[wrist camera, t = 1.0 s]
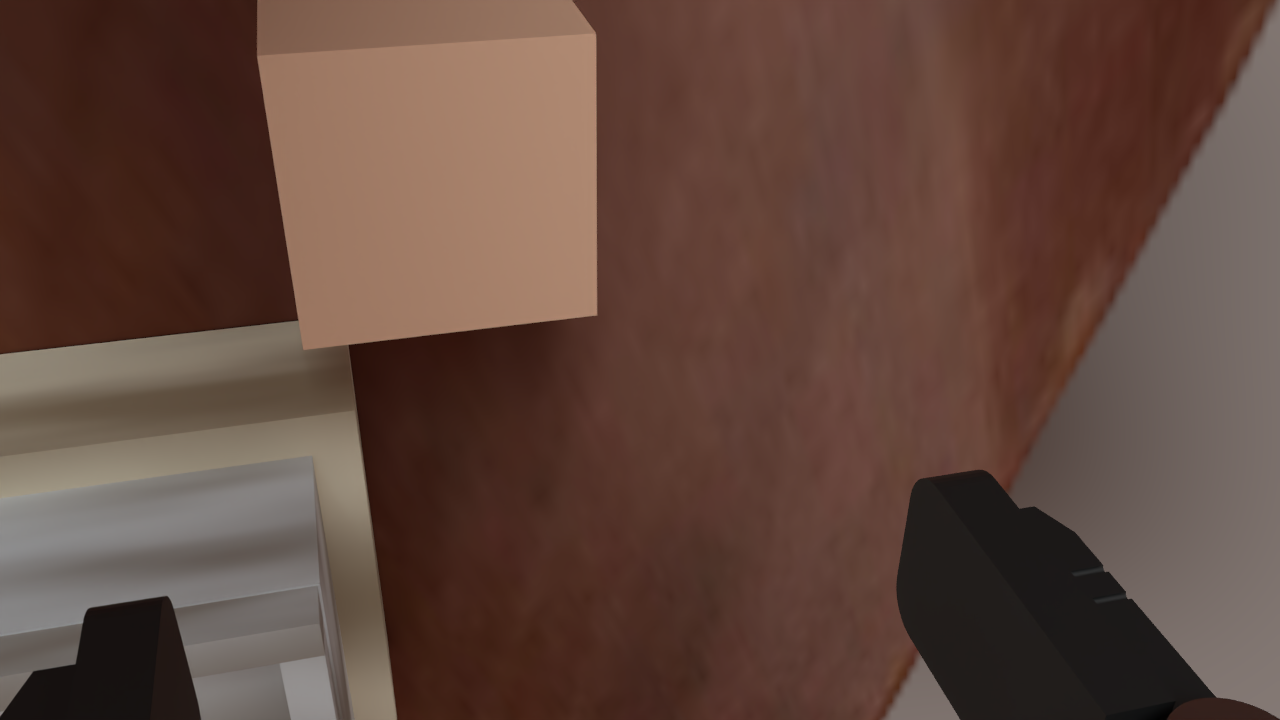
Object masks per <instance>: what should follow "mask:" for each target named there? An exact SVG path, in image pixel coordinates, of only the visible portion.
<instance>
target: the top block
mask: <svg viewBox="0 0 1280 720" xmlns="http://www.w3.org/2000/svg"><path fill="white" fill-rule="evenodd" d="M257 59H258V65H259V72H260V78H261V84H262V91H263V97H264V104H265V110H266V116H267V123H268V129H269V135H270V142H271V148H272V154H273V161H274V167H275V174H276V180H277V186H278V193H279V199H280V205H281V212H282V218H283V225H284V231H285V237H286V244H287V250H288V256H289V263H290V269H291V276H292V282H293V288H294V295H295V301H296V307H297V314H298V320H299V326H300V333H301V339H302V346H303V350H308V349H316V348H325V347H333V346H342V345H350V344H359V343H367V342H376V341H384V340H392V339H401V338H409V337H418V336H426V335H435V334H443V333H452V332H460V331H469V330H477V329H485V328H494V327H502V326H511V325H519V324H528V323H536V322H545V321H553V320H562V319H570V318H578V317H587V316H595V315H597V141H596V33H595V31H594V30H593V28H592V27H591V26H590V24H589V23H588V22H587V20H586V19H585V17H584V16H583V15H582V13H581V12H580V11H579V9H578V8H577V6H576V5H575V4H574V2H573V1H572V0H257Z"/></svg>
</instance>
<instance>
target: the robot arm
mask: <svg viewBox="0 0 1280 720" xmlns="http://www.w3.org/2000/svg"><path fill="white" fill-rule="evenodd" d="M897 600H898V606H899V611H900V614H901V618H902V621H903V624H904V626H905V628H906V631H907V633H908V635H909V636H910V638H911V640H912V641H913V643H914V645H915V646H916V648H917V650H918V651H919V653H920V654H921V656H922V658H923V659H924V661H925V663H926V664H927V666H928V668H929V669H930V671H931V672H932V674H933V675H934V677H935V679H936V681H937V682H938V684H939V685H940V687H941V689H942V690H943V692H944V694H945V695H946V697H947V698H948V700H949V701H950V703H951V705H952V706H953V708H954V710H955V711H956V713H957V715H958V716H959V718H960V720H1280V719H1279V718H1277V717H1275V716H1274V715H1272V714H1270V713H1268V712H1266V711H1264V710H1262V709H1260V708H1258V707H1255V706H1253V705H1250V704H1247V703H1244V702H1240V701H1236V700H1231V699H1223V698H1217V697H1216V696H1215V695H1214V694H1213V693H1212V692H1211V691H1210V690H1209V689H1208V687H1207V686H1206V685H1205V684H1204V683H1203V682H1202V681H1201V679H1200V678H1199V677H1198V676H1197V675H1196V673H1195V672H1194V671H1193V670H1192V669H1191V667H1190V666H1189V665H1188V664H1187V663H1186V662H1185V660H1184V659H1183V658H1182V657H1181V656H1180V655H1179V653H1178V652H1177V651H1176V650H1175V649H1174V648H1173V646H1171V644H1170V643H1169V642H1168V641H1167V639H1166V638H1165V637H1164V636H1163V635H1162V634H1161V632H1160V631H1159V630H1158V629H1157V628H1156V627H1155V626H1154V624H1152V622H1151V621H1150V620H1149V618H1148V617H1147V616H1146V615H1145V614H1144V612H1143V611H1142V610H1141V609H1140V608H1139V607H1138V606H1137V604H1136V603H1135V602H1134V601H1133V600H1132V599H1127V597H1126V591H1125V590H1124V589H1123V588H1122V587H1121V586H1120V584H1119V583H1118V582H1117V581H1116V580H1115V579H1114V578H1113V576H1112V575H1111V574H1110V573H1109V572H1104V570H1103V565H1102V563H1101V562H1100V561H1099V560H1098V559H1097V557H1096V556H1095V555H1094V554H1093V553H1092V552H1091V550H1090V549H1089V548H1088V547H1087V546H1086V545H1085V544H1084V543H1083V541H1082V540H1081V539H1080V538H1079V536H1078V535H1077V534H1076V533H1075V532H1074V531H1072V530H1070V529H1069V528H1067V527H1065V526H1064V525H1063V524H1061V523H1059V522H1058V521H1056V520H1055V519H1053V518H1052V517H1050V516H1048V515H1047V514H1045V513H1044V512H1042V511H1041V510H1039V509H1037V508H1036V507H1028V508H1022V509H1019V508H1018V507H1017V505H1016V504H1015V503H1014V502H1013V501H1012V499H1011V498H1010V497H1009V496H1008V494H1007V493H1006V492H1005V491H1004V489H1003V488H1002V487H1001V486H1000V485H999V483H998V482H997V481H996V480H995V478H994V477H993V476H992V475H991V474H989V473H988V472H987V471H984V470H974V471H967V472H961V473H955V474H948V475H942V476H936V477H929V478H923V479H920V480H918V481H917V482H916V483H915V485H914V487H913V489H912V492H911V497H910V503H909V509H908V515H907V521H906V527H905V533H904V539H903V545H902V551H901V557H900V563H899V569H898V575H897ZM0 720H201V716H200V710H199V704H198V700H197V696H196V692H195V688H194V684H193V680H192V677H191V673H190V669H189V665H188V661H187V657H186V654H185V650H184V646H183V642H182V638H181V634H180V630H179V627H178V623H177V619H176V615H175V611H174V608H173V605H172V602H171V600H170V598H169V597H168V596H161V597H155V598H148V599H142V600H135V601H129V602H123V603H116V604H110V605H104V606H97V607H91V608H89V609H87V611H86V613H85V616H84V620H83V625H82V630H81V636H80V642H79V647H78V653H77V659H76V664H73V665H67V666H61V667H55V668H49V669H43V670H37V671H33V672H32V674H31V675H30V676H29V678H28V679H27V681H26V682H25V683H24V685H23V686H22V687H21V689H20V690H19V691H18V693H17V694H16V696H15V697H14V698H13V700H12V701H11V702H10V704H9V705H8V706H7V708H6V709H5V711H4V712H3V713H2V715H1V716H0Z"/></svg>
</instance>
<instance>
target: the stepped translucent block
mask: <svg viewBox="0 0 1280 720" xmlns="http://www.w3.org/2000/svg"><path fill="white" fill-rule="evenodd" d="M161 596H168V597H169V598H170V600H171V602H172V605H173V608H174V611H175V615H176V619H177V623H178V627H179V630H180V634H181V638H182V642H183V646H184V650H185V654H186V657H187V661H188V665H189V669H190V673H191V677H192V680H193V684H194V688H195V692H196V696H197V700H198V704H199V710H200V716H201V720H397V713H396V705H395V696H394V688H393V680H392V671H391V663H390V655H389V647H388V639H387V632H386V624H385V617H384V609H383V602H382V594H381V587H380V579H379V572H378V564H377V557H376V549H375V542H374V534H373V527H372V519H371V512H370V504H369V497H368V489H367V482H366V474H365V466H364V459H363V451H362V444H361V436H360V429H359V421H358V414H357V406H356V399H355V391H354V384H353V376H352V369H351V361H350V354H349V346H348V345H342V346H333V347H325V348H316V349H308V350H303V346H302V339H301V333H300V326H299V321H291V322H282V323H273V324H264V325H256V326H247V327H238V328H229V329H220V330H211V331H203V332H194V333H185V334H176V335H167V336H159V337H150V338H141V339H132V340H123V341H114V342H106V343H97V344H88V345H79V346H70V347H61V348H53V349H44V350H35V351H26V352H17V353H8V354H0V716H1V715H2V713H3V712H4V711H5V709H6V708H7V706H8V705H9V704H10V702H11V701H12V700H13V698H14V697H15V696H16V694H17V693H18V691H19V690H20V689H21V687H22V686H23V685H24V683H25V682H26V681H27V679H28V678H29V676H30V675H31V674H32V672H33V671H37V670H43V669H49V668H55V667H61V666H67V665H73V664H76V659H77V653H78V647H79V642H80V636H81V630H82V625H83V620H84V616H85V613H86V611H87V609H89V608H91V607H97V606H104V605H110V604H116V603H123V602H129V601H135V600H142V599H148V598H155V597H161Z"/></svg>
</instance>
